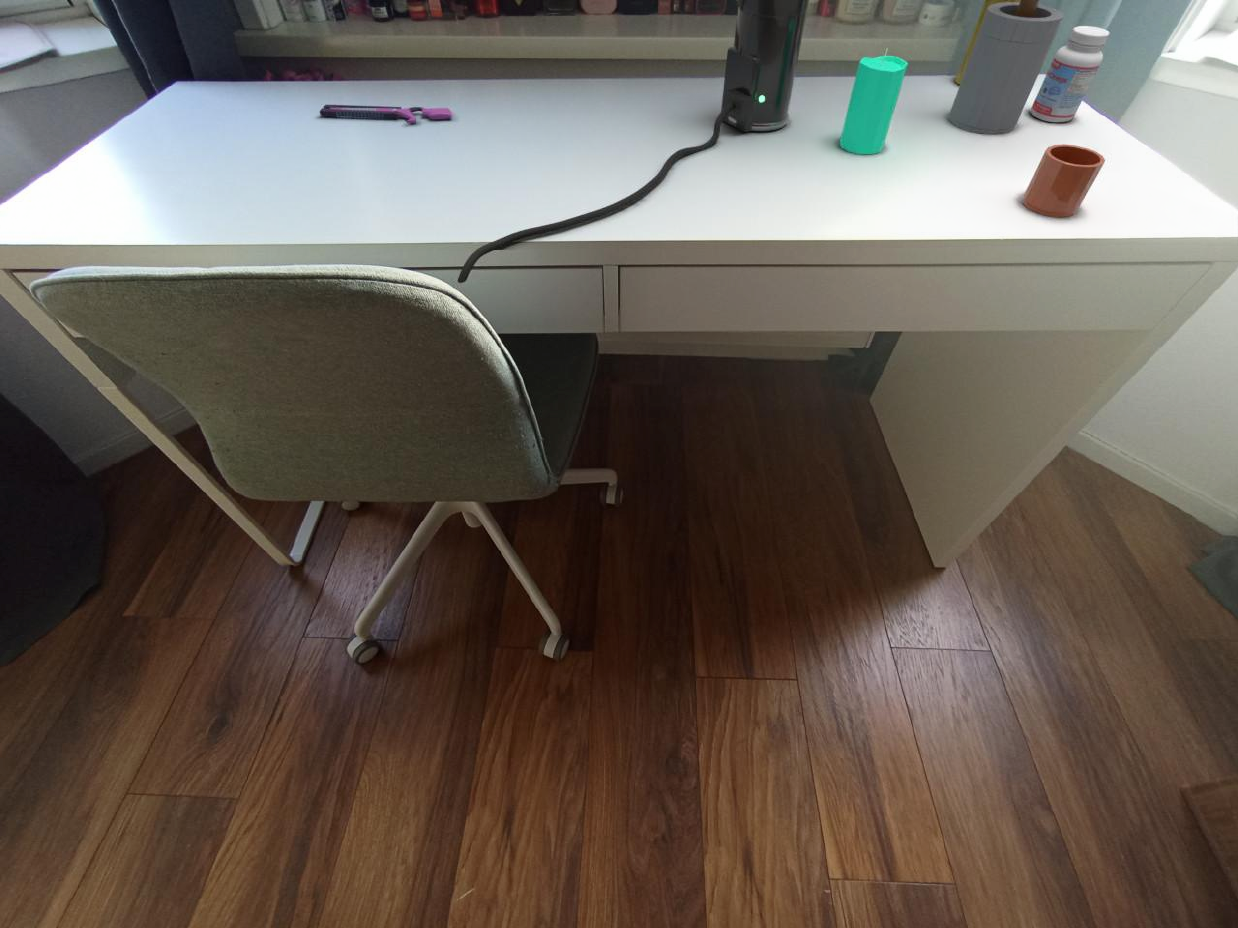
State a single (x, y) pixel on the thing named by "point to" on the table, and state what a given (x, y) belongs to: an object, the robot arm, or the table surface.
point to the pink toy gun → (383, 112)
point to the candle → (872, 103)
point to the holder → (1062, 180)
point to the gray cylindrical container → (1003, 68)
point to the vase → (988, 1)
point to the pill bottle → (1070, 75)
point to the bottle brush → (1026, 8)
